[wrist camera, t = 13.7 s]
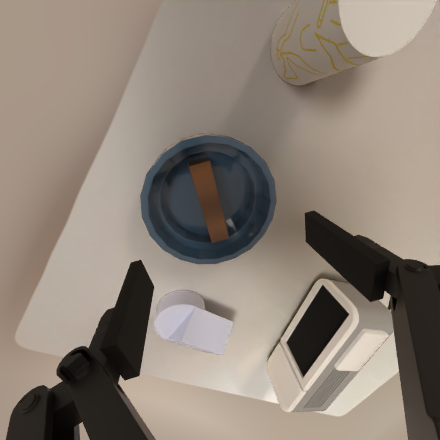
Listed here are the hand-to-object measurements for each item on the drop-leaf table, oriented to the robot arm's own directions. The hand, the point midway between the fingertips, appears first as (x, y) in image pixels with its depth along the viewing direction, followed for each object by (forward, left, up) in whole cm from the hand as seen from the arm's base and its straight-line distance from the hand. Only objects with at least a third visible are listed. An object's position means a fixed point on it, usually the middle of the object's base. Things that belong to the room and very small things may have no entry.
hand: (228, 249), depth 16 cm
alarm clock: (+35, +14, -16) cm, 41 cm away
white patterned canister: (-15, +16, -16) cm, 27 cm away
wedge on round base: (+22, -9, -16) cm, 29 cm away
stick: (0, 0, -15) cm, 15 cm away
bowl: (0, 0, -16) cm, 16 cm away
